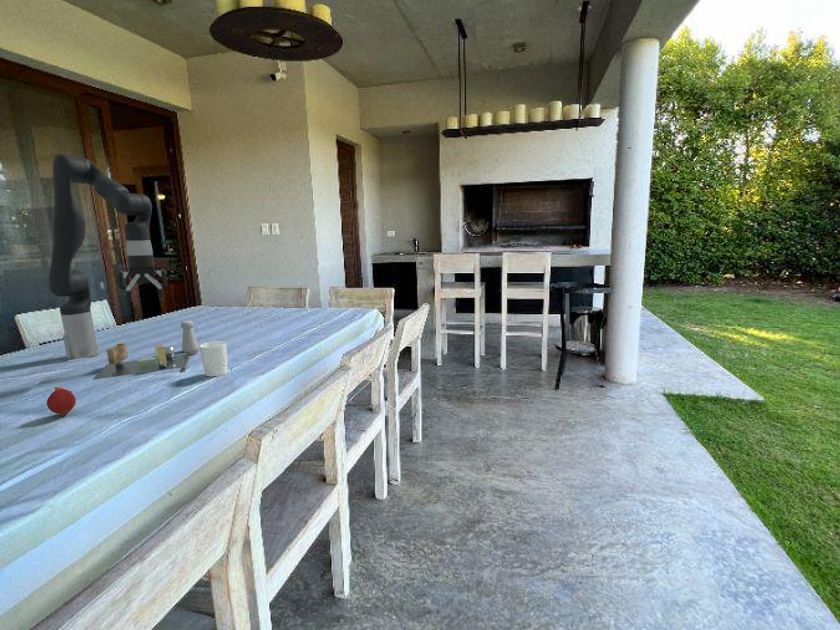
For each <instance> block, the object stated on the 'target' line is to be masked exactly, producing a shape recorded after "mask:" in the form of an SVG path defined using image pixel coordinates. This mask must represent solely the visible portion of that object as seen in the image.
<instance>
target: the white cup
mask: <svg viewBox="0 0 840 630" xmlns="http://www.w3.org/2000/svg"><path fill="white" fill-rule="evenodd" d="M227 350H228V348H227V342H226V341H221V340H220V341H219V340H218V341H209V342H204V343H202V344H200V345H199V352H200V357H201V362H202V367H203V369H204V376H206V377H207V376H210V378H213V376H216V377H221V376H224V375H226V374H228V372H229V370H228V368H229V367H228V351H227Z"/></svg>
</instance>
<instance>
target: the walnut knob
mask: <svg viewBox="0 0 840 630" xmlns="http://www.w3.org/2000/svg"><path fill="white" fill-rule="evenodd" d="M126 344H127V343H126V342H118V343H117V344H116V345H115V346H112V347H109V348H108V349H106V355H107V360H108V364H115V367H122V366H124V364H123V362H124V360H126V359H128V358H129V357H128V351H127V345H126Z"/></svg>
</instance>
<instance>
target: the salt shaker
mask: <svg viewBox="0 0 840 630" xmlns="http://www.w3.org/2000/svg"><path fill="white" fill-rule="evenodd" d="M193 327H194V322H193V321H192V320H184V321H181V323H180V328H182V330H183V331H182V341H181V351H182V352H183V353H186V354H190V355H191V356H195V355H197V354H198V352H199V350H200V345H199V343H198V340H197V337H196V334H195V332H194V329H193Z"/></svg>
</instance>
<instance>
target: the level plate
mask: <svg viewBox="0 0 840 630" xmlns="http://www.w3.org/2000/svg"><path fill="white" fill-rule="evenodd" d="M164 347H165V354H166V360H167V363H166V365H167V366H166V367H158V361H157V357H156V356H154V357H148V358H140V359H136V360H128V361H123V364H124V366H122V367H115V364H109V363H107V364H105V365H104V367H103V368H102V369H100V371H99V372H98V373H97V374H96V375H95V376H94V377H93V378H91V379H92V380H99V379H109V378H114V377H115V378H116V377H122V376H128V375H129V376H131V375H138V374H145V373H152V372H159V371H166V370H174V369H180V370H179V373H183V372H182V371H184V372H186V371H187V368H188V365H187V364H189V362H190V359H191V356H190V354H187V353H185V354H177V355H175V350H174V349H175V348H174V346H172V345H171V346H164ZM188 361H189V362H188ZM186 367H187V368H186ZM185 370H186V371H185Z"/></svg>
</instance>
